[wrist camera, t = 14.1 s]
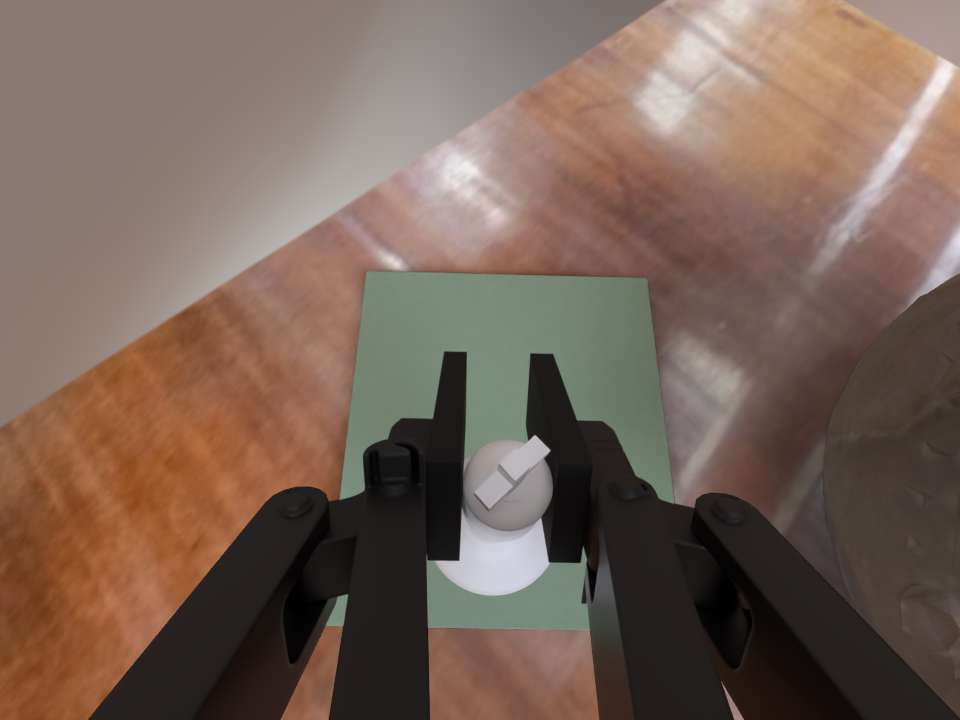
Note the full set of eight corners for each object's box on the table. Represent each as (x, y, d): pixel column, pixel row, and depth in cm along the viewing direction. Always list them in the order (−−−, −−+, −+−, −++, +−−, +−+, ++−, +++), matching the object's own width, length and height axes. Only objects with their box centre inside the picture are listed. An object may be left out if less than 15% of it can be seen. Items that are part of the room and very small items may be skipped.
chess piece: (588, 525, 19) (701, 472, 10) (489, 628, 18) (513, 681, 8) (495, 427, 20) (518, 300, 11) (396, 516, 19) (328, 456, 10)
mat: (327, 624, 23) (324, 625, 23) (368, 276, 30) (366, 270, 30) (686, 630, 23) (691, 632, 23) (643, 283, 30) (647, 277, 30)
